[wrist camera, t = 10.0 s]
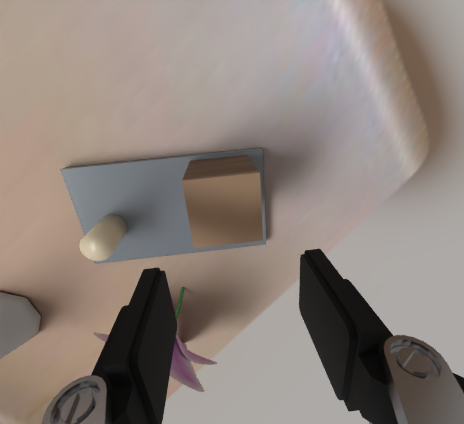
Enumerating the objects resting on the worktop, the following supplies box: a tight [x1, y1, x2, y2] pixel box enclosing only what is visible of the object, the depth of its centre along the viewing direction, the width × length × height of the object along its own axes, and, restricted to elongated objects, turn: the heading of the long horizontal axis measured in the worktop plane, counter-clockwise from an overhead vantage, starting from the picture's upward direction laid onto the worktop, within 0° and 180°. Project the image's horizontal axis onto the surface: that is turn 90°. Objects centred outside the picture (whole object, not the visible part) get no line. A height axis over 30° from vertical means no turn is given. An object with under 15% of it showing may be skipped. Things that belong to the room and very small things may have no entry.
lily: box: [94, 287, 217, 392], centre depth 27 cm, size 12×12×10 cm
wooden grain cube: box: [182, 155, 263, 248], centre depth 20 cm, size 5×5×7 cm
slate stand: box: [60, 148, 266, 264], centre depth 23 cm, size 10×18×5 cm, turn 95°
